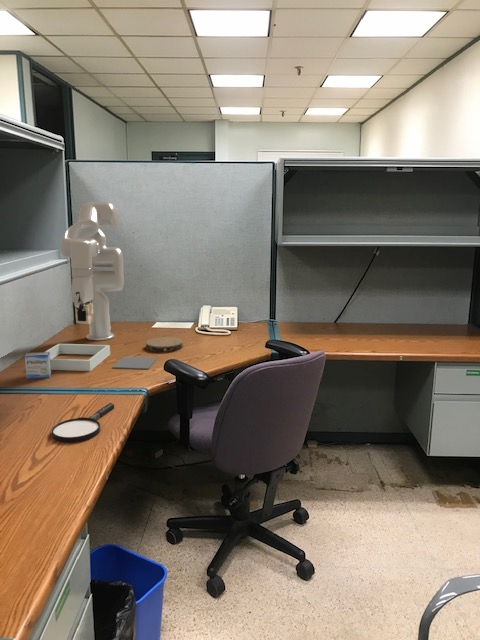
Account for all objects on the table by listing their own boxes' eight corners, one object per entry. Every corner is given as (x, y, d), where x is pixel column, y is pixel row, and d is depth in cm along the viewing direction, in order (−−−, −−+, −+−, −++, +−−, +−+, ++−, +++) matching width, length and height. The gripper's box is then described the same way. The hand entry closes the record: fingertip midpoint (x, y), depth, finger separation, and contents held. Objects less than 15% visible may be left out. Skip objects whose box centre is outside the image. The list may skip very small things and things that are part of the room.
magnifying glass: (129, 411, 147) (129, 405, 147) (82, 447, 125) (82, 439, 124) (93, 406, 151) (93, 400, 150) (41, 440, 128) (41, 432, 128)
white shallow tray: (59, 352, 206) (58, 343, 205) (110, 354, 204) (109, 345, 204) (33, 369, 185) (32, 358, 184) (90, 371, 183) (89, 360, 182)
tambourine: (187, 345, 221) (187, 338, 221) (174, 354, 206) (173, 347, 206) (155, 342, 225) (155, 336, 225) (139, 351, 210) (139, 344, 210)
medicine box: (26, 379, 173) (24, 356, 171) (28, 375, 178) (26, 352, 176) (50, 377, 175) (48, 354, 174) (51, 373, 180) (49, 351, 178)
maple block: (81, 320, 193) (80, 303, 192) (93, 321, 193) (92, 303, 191) (76, 323, 188) (75, 305, 187) (88, 323, 188) (87, 305, 187)
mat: (123, 357, 200) (123, 356, 200) (157, 358, 199) (157, 357, 199) (112, 368, 186) (112, 367, 186) (148, 369, 185) (148, 368, 185)
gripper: (81, 270, 195) (84, 314, 199) (62, 275, 179) (66, 324, 183) (100, 270, 194) (102, 315, 198) (82, 275, 178) (85, 324, 182)
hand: (85, 318), depth 190 cm, fingers closed on maple block, 5 cm apart
